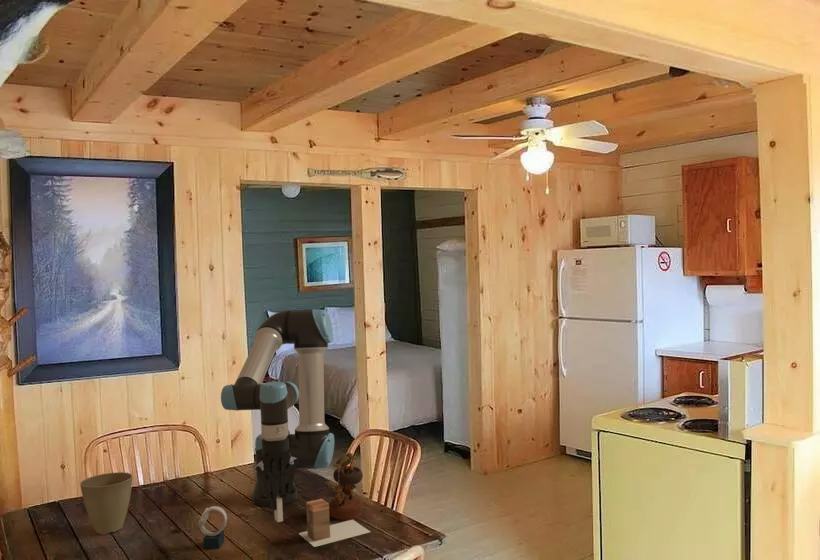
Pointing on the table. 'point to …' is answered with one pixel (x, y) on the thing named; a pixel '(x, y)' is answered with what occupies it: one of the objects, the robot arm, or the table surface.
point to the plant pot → (107, 500)
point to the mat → (338, 532)
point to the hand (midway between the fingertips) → (278, 520)
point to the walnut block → (318, 519)
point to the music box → (346, 490)
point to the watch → (212, 537)
